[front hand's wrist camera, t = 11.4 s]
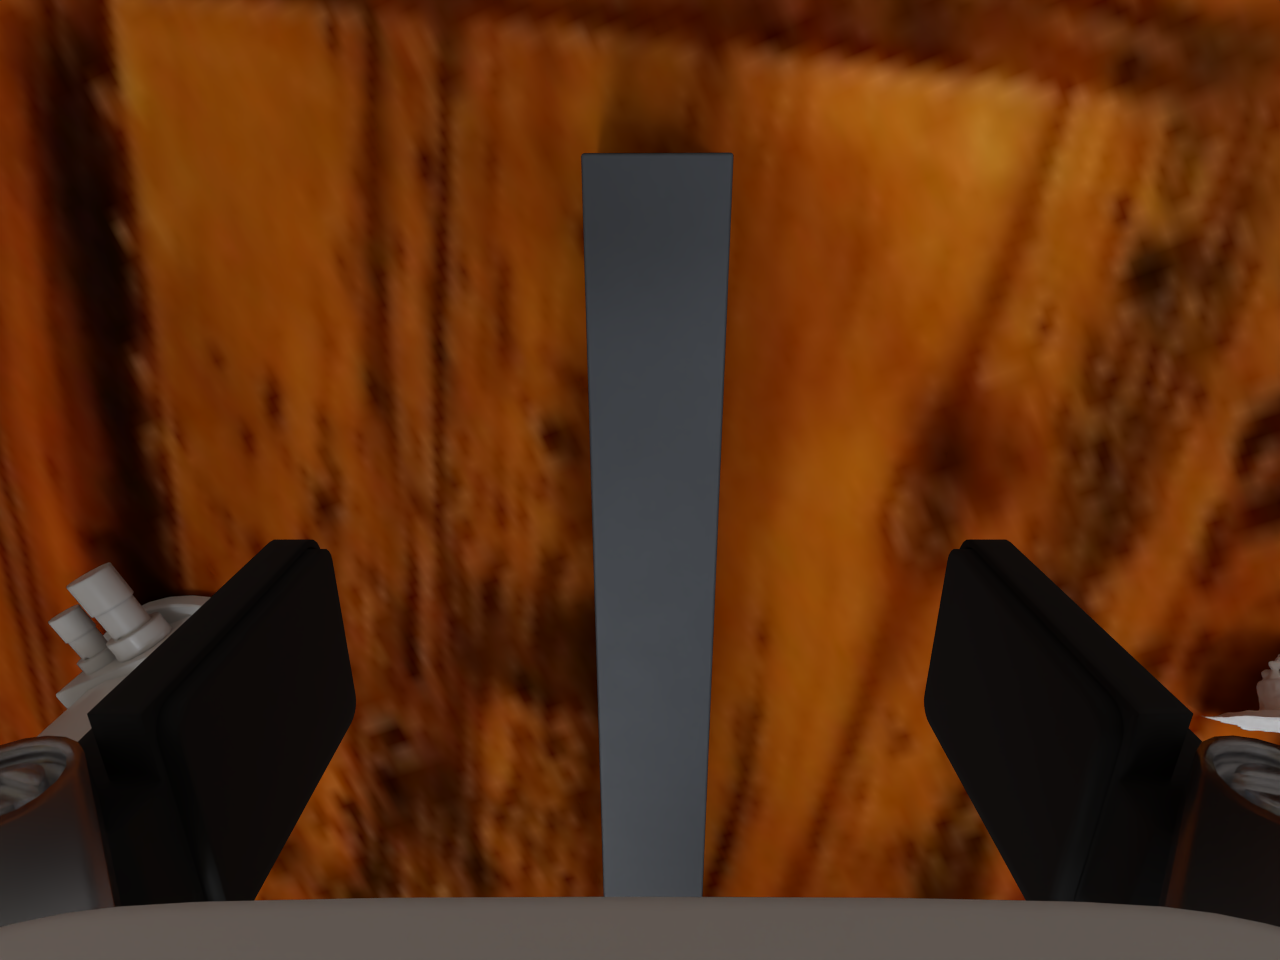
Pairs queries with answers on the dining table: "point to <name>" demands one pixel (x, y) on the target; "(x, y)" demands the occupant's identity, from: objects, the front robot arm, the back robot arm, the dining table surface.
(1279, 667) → the white irregular piece
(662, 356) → the post
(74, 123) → the dining table surface
